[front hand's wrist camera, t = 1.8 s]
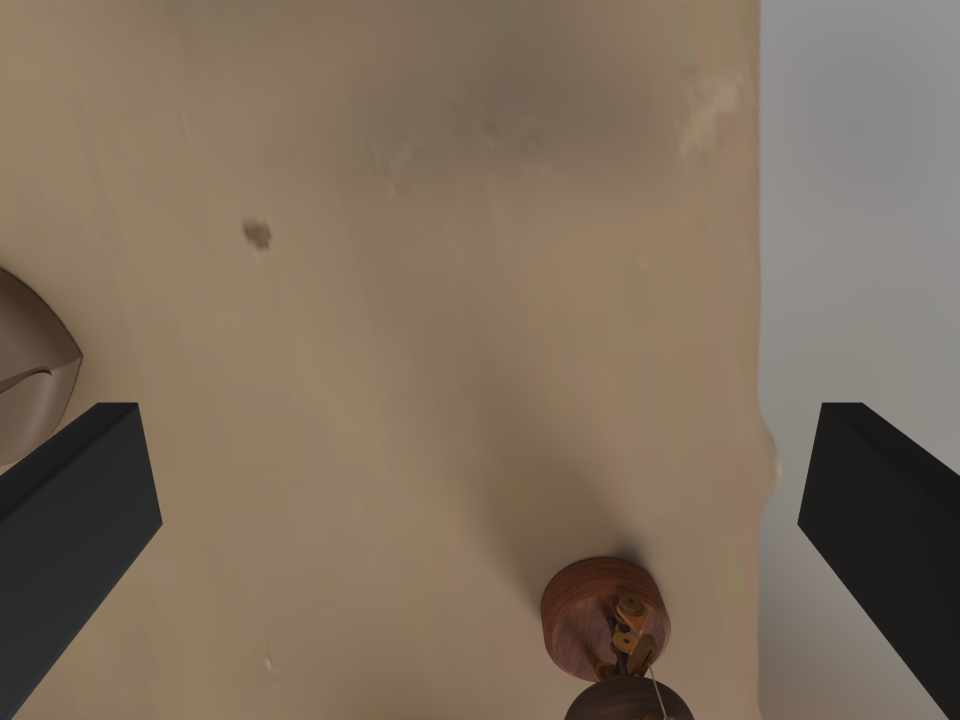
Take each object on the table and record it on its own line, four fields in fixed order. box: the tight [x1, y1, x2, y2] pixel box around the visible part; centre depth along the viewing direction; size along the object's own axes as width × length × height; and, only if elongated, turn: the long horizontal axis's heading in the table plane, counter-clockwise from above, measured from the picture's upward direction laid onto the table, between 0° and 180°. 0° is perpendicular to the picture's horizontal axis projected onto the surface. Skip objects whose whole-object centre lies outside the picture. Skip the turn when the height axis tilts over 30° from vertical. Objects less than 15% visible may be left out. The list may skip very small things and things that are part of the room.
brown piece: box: [541, 558, 694, 720], centre depth 48 cm, size 15×11×20 cm
